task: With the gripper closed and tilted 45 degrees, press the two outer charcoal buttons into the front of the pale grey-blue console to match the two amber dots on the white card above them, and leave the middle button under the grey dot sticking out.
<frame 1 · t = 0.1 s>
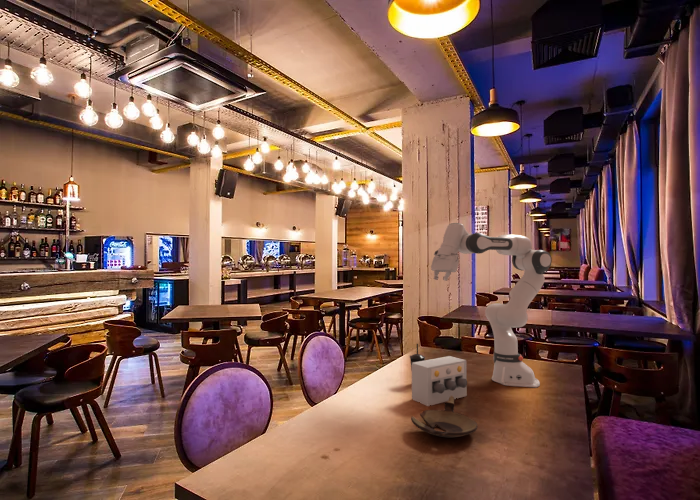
hand: (440, 280, 191), 52 cm above the table, tool tilted 20°, fingers open, 8 cm apart
console: (439, 397, 173), on the table
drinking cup: (417, 384, 193), on the table
button 1: (461, 382, 172), point 7 cm above the table, slide at 0.0 cm
oil lamp: (448, 432, 138), on the table
button 2: (450, 384, 168), point 7 cm above the table, slide at 0.0 cm
button 3: (438, 387, 165), point 7 cm above the table, slide at 0.0 cm
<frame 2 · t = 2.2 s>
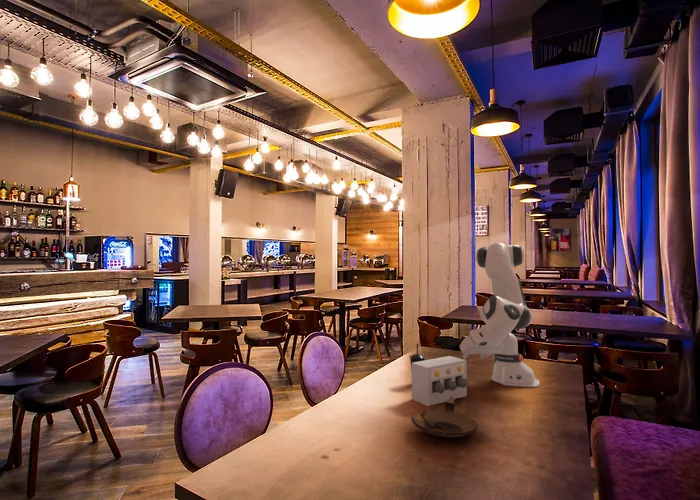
hand: (473, 357, 165), 20 cm above the table, tool tilted 40°, fingers open, 8 cm apart
nothing on the table moved.
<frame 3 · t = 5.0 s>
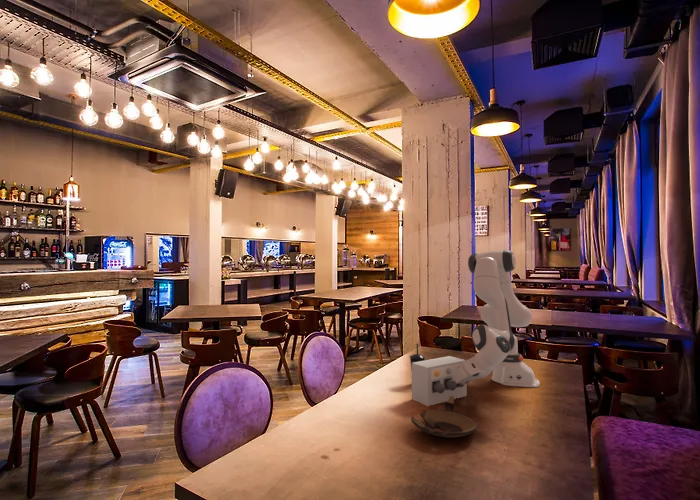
hand: (463, 382, 171), 7 cm above the table, tool tilted 45°, fingers closed, pressing on button 1
button 1: (459, 381, 173), point 7 cm above the table, slide at 1.1 cm, touching gripper
everything else where it was.
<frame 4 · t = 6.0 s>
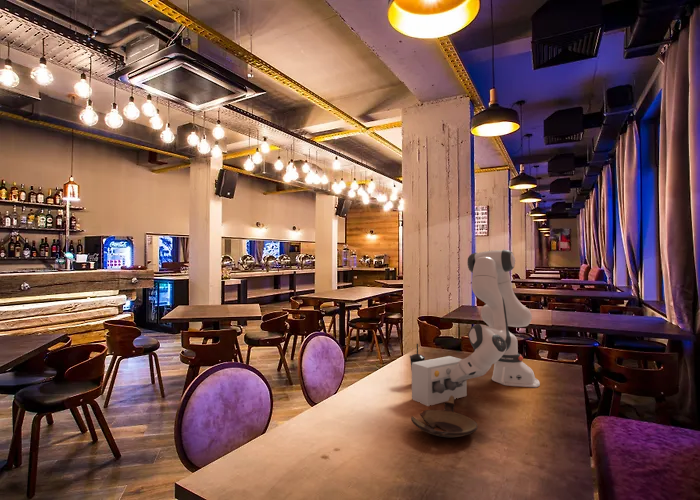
hand: (460, 381, 173), 7 cm above the table, tool tilted 45°, fingers closed
button 1: (456, 380, 175), point 7 cm above the table, slide at 3.0 cm
everything else where it was.
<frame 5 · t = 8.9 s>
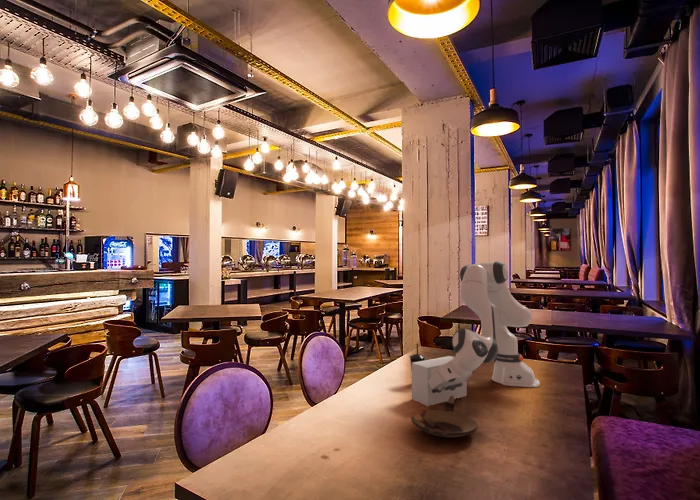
hand: (440, 388, 164), 7 cm above the table, tool tilted 45°, fingers closed, pressing on button 3
button 3: (436, 386, 165), point 7 cm above the table, slide at 1.1 cm, touching gripper
everything else where it was.
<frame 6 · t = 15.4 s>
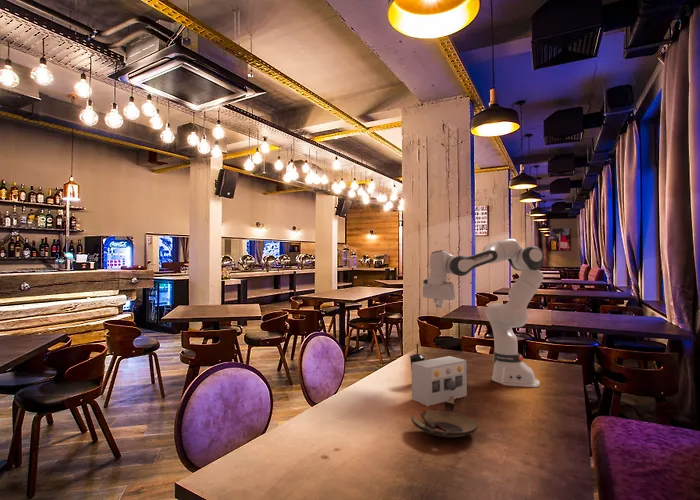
hand: (438, 307, 203), 37 cm above the table, tool pointing down, fingers closed
button 3: (433, 385, 167), point 7 cm above the table, slide at 2.9 cm
everything else where it was.
at the end: button 1 slide at 3.0 cm; button 3 slide at 2.9 cm; button 2 slide at 0.0 cm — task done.
